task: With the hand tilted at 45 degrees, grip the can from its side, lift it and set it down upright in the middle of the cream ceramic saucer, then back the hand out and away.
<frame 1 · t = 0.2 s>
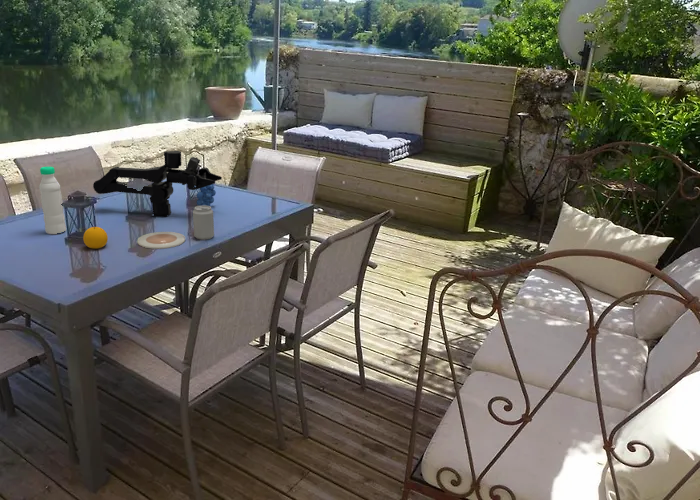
hand: (218, 180, 236), 17 cm above the table, tool horizontal, fingers open, 9 cm apart
orange: (96, 247, 204), on the table
milk bottle: (56, 232, 217), on the table
grapes: (205, 208, 255), on the table
can: (204, 237, 219), on the table
saucer: (161, 241, 213), on the table
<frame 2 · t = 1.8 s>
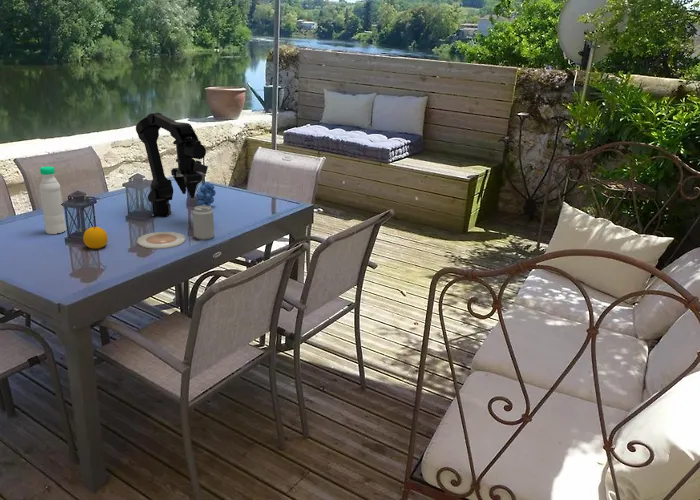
hand: (188, 195, 227), 13 cm above the table, tool pointing down, fingers open, 9 cm apart
nothing on the table moved.
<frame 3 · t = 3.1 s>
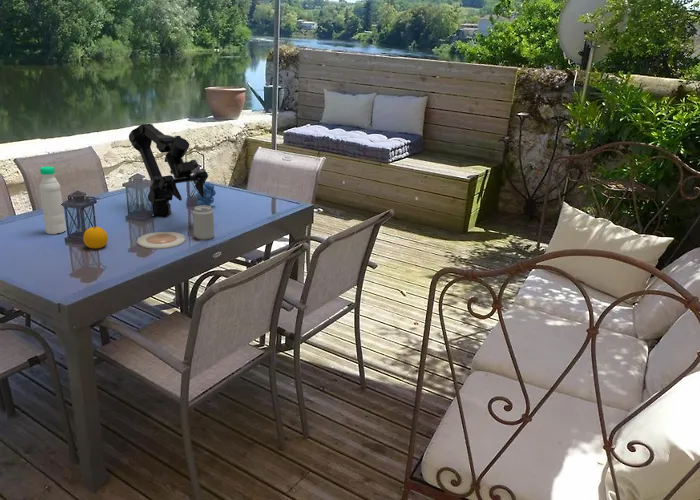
hand: (192, 198, 220), 14 cm above the table, tool tilted 45°, fingers open, 9 cm apart
nothing on the table moved.
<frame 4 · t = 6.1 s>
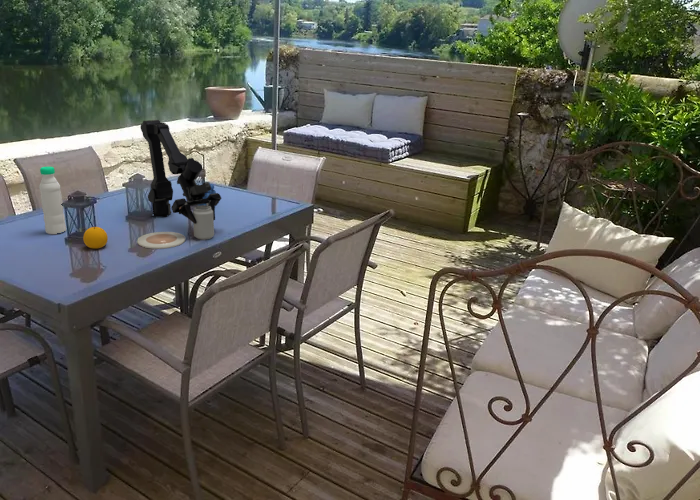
hand: (205, 221, 216), 7 cm above the table, tool tilted 45°, fingers closed on can, 7 cm apart
can: (204, 237, 219), on the table, touching gripper
everything else where it was.
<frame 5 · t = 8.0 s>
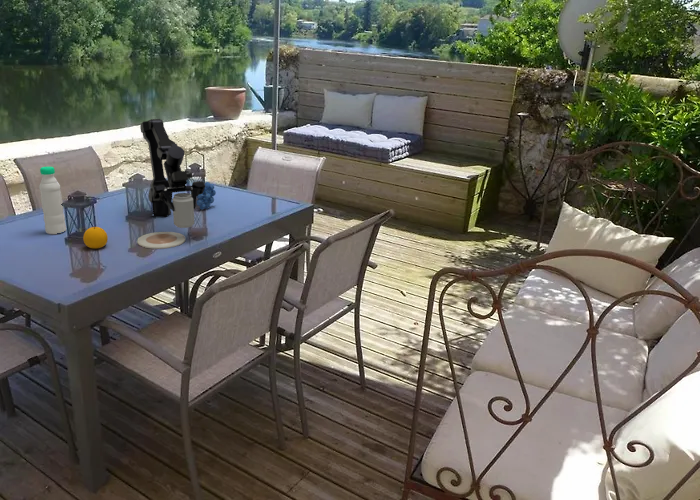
hand: (184, 209, 210), 12 cm above the table, tool tilted 45°, fingers closed on can, 7 cm apart
can: (184, 226, 214), point 5 cm above the table, touching gripper
everything else where it was.
when the fingers open (9 cm above the table, at t = 10.0 s): can drops 1 cm, resting on saucer.
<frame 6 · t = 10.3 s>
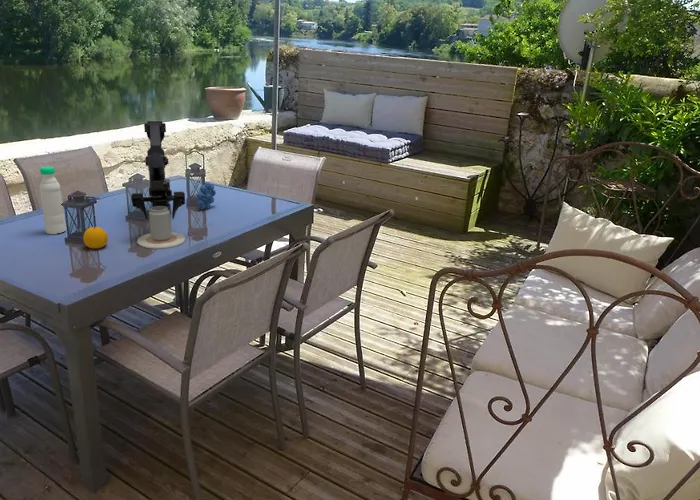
hand: (160, 219, 209), 9 cm above the table, tool tilted 45°, fingers open, 9 cm apart
can: (161, 239, 213), point 1 cm above the table, touching saucer
everything else where it was.
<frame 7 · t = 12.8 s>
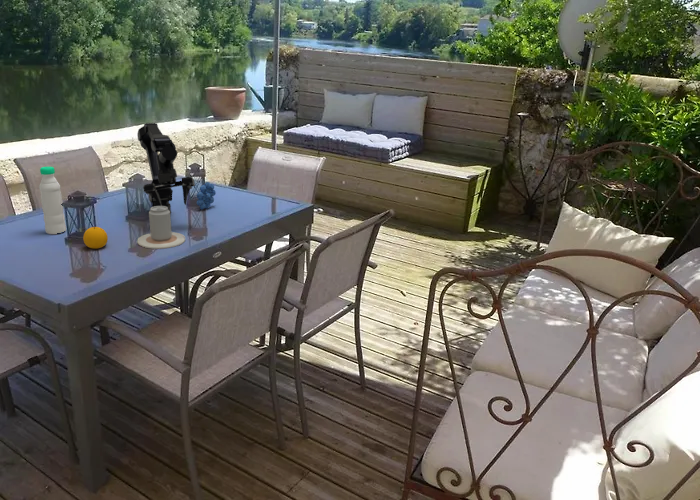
hand: (173, 206, 222), 10 cm above the table, tool tilted 30°, fingers open, 9 cm apart
nothing on the table moved.
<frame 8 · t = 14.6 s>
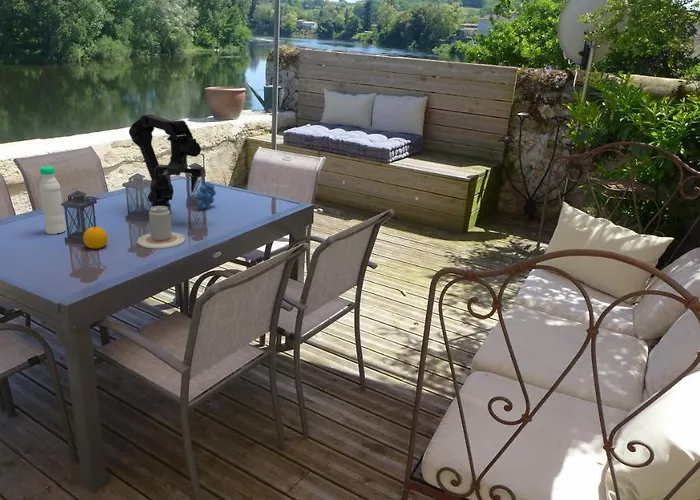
hand: (181, 191, 231), 13 cm above the table, tool pointing down, fingers open, 9 cm apart
nothing on the table moved.
at the end: can inside the target area on the saucer (0.1 cm from its centre), point 0.7 cm above the saucer's base; can tilted 0°; the gripper is holding nothing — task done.
